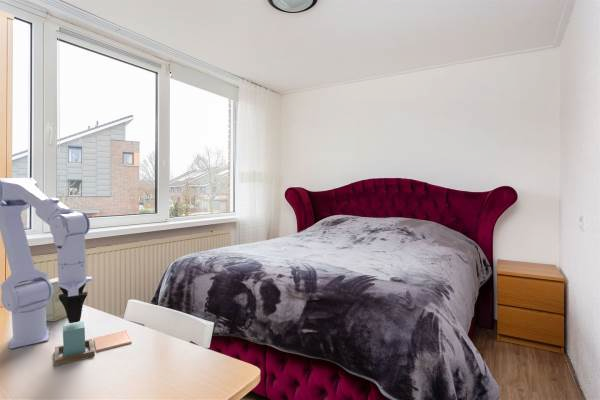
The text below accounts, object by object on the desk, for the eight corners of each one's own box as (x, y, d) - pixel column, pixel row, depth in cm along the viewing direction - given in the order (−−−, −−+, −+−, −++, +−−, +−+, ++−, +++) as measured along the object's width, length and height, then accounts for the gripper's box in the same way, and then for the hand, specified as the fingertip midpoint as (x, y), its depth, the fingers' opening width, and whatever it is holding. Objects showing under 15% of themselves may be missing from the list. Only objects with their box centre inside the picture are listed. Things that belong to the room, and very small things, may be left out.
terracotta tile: (93, 339, 93) (93, 337, 93) (126, 332, 97) (126, 330, 97) (96, 351, 86) (96, 349, 86) (131, 343, 91) (131, 341, 91)
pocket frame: (55, 351, 86) (54, 347, 86) (92, 343, 91) (92, 338, 91) (54, 366, 80) (54, 361, 80) (94, 355, 84) (94, 351, 84)
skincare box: (54, 322, 104) (52, 282, 104) (42, 321, 105) (40, 281, 104) (72, 314, 111) (70, 276, 110) (60, 313, 111) (58, 276, 111)
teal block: (63, 353, 86) (62, 325, 85) (84, 348, 88) (83, 321, 88) (64, 360, 82) (62, 332, 82) (85, 355, 85) (84, 327, 84)
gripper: (92, 266, 80) (95, 323, 81) (89, 254, 92) (91, 304, 93) (55, 270, 76) (58, 330, 77) (57, 258, 88) (59, 310, 89)
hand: (74, 316), depth 85 cm, fingers open, 7 cm apart
